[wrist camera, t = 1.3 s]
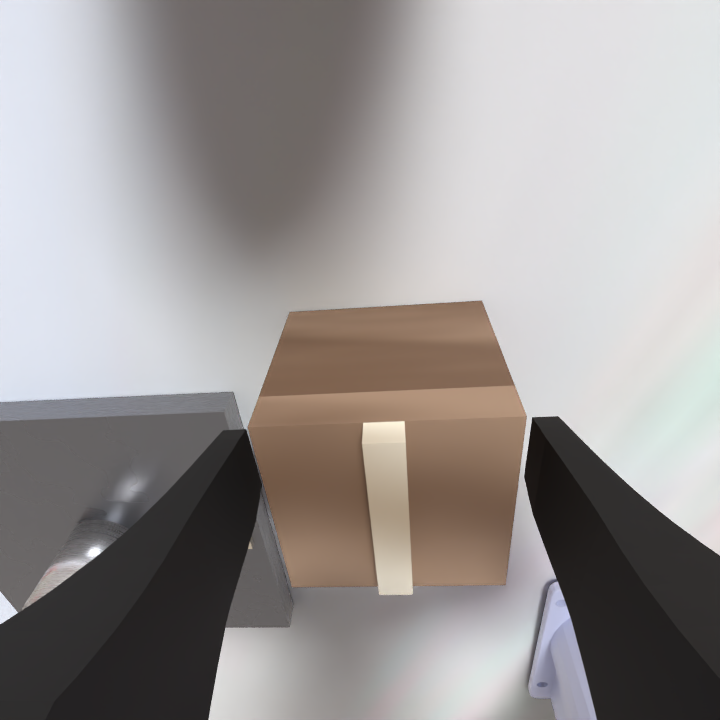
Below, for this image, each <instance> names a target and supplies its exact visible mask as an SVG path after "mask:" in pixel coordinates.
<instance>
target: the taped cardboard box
mask: <svg viewBox="0 0 720 720" xmlns="http://www.w3.org/2000/svg"><path fill="white" fill-rule="evenodd" d="M526 418H527V416H526V413H525V411H524V408H523V406H522V403H521V400H520V398H519V395H518V393H517V390H516V388H515V385H514V382H513V380H512V377H511V375H510V372H509V369H508V367H507V364H506V362H505V359H504V357H503V354H502V351H501V349H500V346H499V344H498V341H497V339H496V336H495V333H494V331H493V328H492V326H491V323H490V321H489V318H488V315H487V313H486V310H485V308H484V305H483V302H482V301H470V302H453V303H436V304H419V305H402V306H386V307H369V308H352V309H335V310H318V311H301V312H290V313H289V315H288V318H287V321H286V324H285V326H284V329H283V332H282V335H281V337H280V340H279V343H278V345H277V348H276V351H275V354H274V356H273V359H272V362H271V365H270V367H269V370H268V373H267V376H266V378H265V381H264V384H263V387H262V389H261V392H260V395H259V398H258V400H257V403H256V406H255V409H254V411H253V414H252V417H251V420H250V422H249V425H248V430H249V434H250V438H251V441H252V445H253V448H254V452H255V456H256V459H257V463H258V466H259V470H260V474H261V477H262V481H263V484H264V488H265V492H266V495H267V499H268V503H269V506H270V510H271V513H272V517H273V521H274V524H275V528H276V531H277V535H278V539H279V542H280V546H281V549H282V553H283V557H284V560H285V564H286V568H287V571H288V575H289V578H290V582H291V586H292V587H368V586H378V590H379V595H413V586H463V585H505V584H506V576H507V568H508V560H509V552H510V544H511V536H512V528H513V521H514V513H515V505H516V497H517V489H518V481H519V473H520V465H521V457H522V450H523V442H524V434H525V426H526Z"/></svg>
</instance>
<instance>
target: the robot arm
mask: <svg viewBox="0 0 720 720" xmlns="http://www.w3.org/2000/svg"><path fill="white" fill-rule="evenodd" d="M524 478H525V482H526V487H527V491H528V496H529V500H530V504H531V508H532V512H533V516H534V518H535V521H536V524H537V527H538V530H539V532H540V535H541V538H542V541H543V543H544V546H545V549H546V551H547V554H548V557H549V559H550V562H551V565H552V567H553V570H554V573H555V575H556V578H557V582H554V583H553V584H551V585H550V587H549V589H548V593H547V598H546V603H545V608H544V613H543V617H542V622H541V627H540V632H539V636H538V641H537V646H536V651H535V655H534V660H533V665H532V670H531V675H530V679H529V684H528V689H529V693H530V695H531V696H532V697H533V698H539V699H551V702H552V706H553V710H554V714H555V718H556V720H720V556H719V555H718V554H717V553H715V552H714V551H712V550H711V549H709V548H708V547H706V546H705V545H703V544H702V543H701V542H699V541H698V540H697V539H695V538H694V537H693V536H691V535H690V534H689V533H687V532H686V531H684V530H683V529H682V528H680V527H679V526H678V525H676V524H675V523H674V522H672V521H671V520H670V519H669V518H667V517H666V516H665V515H663V514H662V513H661V512H660V511H658V510H657V509H656V508H655V507H654V506H652V505H651V504H650V503H649V502H648V501H646V500H645V499H644V498H643V497H642V496H641V495H639V494H638V493H637V492H636V491H635V490H634V489H633V488H631V487H630V486H629V485H628V484H627V483H626V482H625V481H624V480H623V479H622V478H620V477H619V476H618V475H617V474H616V473H615V472H614V471H613V470H612V469H611V468H610V467H609V466H608V465H606V464H605V463H604V462H603V461H602V460H601V459H600V458H599V457H598V456H597V455H596V454H595V453H594V452H593V451H592V450H591V449H590V448H589V447H588V446H587V445H586V444H585V443H584V442H583V441H582V440H581V439H580V438H579V437H578V436H577V435H576V434H575V433H574V432H573V431H572V430H571V429H570V428H569V427H568V426H567V425H566V424H565V423H564V422H563V421H562V420H561V419H560V418H559V417H558V416H556V417H532V424H531V431H530V439H529V446H528V453H527V460H526V468H525V475H524ZM261 487H262V484H261V480H260V477H259V473H258V470H257V466H256V463H255V459H254V455H253V452H252V448H251V445H250V441H249V438H248V434H247V431H246V429H239V430H223V431H222V432H221V433H220V434H219V435H218V436H217V437H216V439H215V440H214V441H213V442H212V443H211V444H210V445H209V446H208V447H207V448H206V450H205V451H204V452H203V453H202V454H201V455H200V456H199V457H198V459H197V460H196V461H195V462H194V463H193V464H192V465H191V466H190V467H189V469H188V470H187V471H186V472H185V473H184V474H183V475H182V476H181V477H180V478H179V479H178V480H177V482H176V483H175V484H174V485H173V486H172V487H171V488H170V489H169V490H168V491H167V492H166V493H165V494H164V495H163V496H162V497H161V498H160V499H159V500H158V501H157V502H156V503H155V504H154V505H153V506H152V507H151V508H150V509H149V510H148V511H147V512H146V513H145V514H144V515H143V516H142V517H141V518H140V519H139V520H138V521H137V522H136V523H135V524H134V525H133V526H131V527H130V528H129V529H128V530H127V531H126V532H125V533H124V534H122V535H121V536H120V537H119V538H118V539H117V540H115V541H114V542H113V543H112V544H111V545H110V546H108V547H107V548H106V549H105V550H104V551H102V552H101V553H100V554H99V555H98V556H96V557H95V558H94V559H93V560H91V561H90V562H89V563H87V564H86V565H85V566H83V567H82V568H81V569H79V570H78V571H77V572H75V573H74V574H73V575H71V576H70V577H69V578H67V579H66V580H65V581H63V582H62V583H61V584H59V585H58V586H57V587H55V588H54V589H53V590H51V591H50V592H48V593H47V594H46V595H44V596H43V597H41V598H40V599H38V600H37V601H35V602H34V603H32V604H31V605H30V606H28V607H27V608H25V609H23V610H22V611H20V612H19V613H17V614H16V615H14V616H13V617H11V618H10V619H8V620H7V621H5V622H4V623H2V624H0V720H208V718H209V712H210V706H211V700H212V695H213V689H214V684H215V678H216V672H217V667H218V662H219V657H220V652H221V647H222V642H223V637H224V631H225V626H226V622H227V618H228V614H229V610H230V607H231V603H232V600H233V596H234V593H235V590H236V586H237V583H238V580H239V577H240V573H241V570H242V567H243V563H244V560H245V557H246V553H247V550H248V547H249V543H250V540H251V537H252V533H253V530H254V526H255V523H256V518H257V512H258V506H259V500H260V494H261Z"/></svg>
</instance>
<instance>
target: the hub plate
mask: <svg viewBox="0 0 720 720" xmlns="http://www.w3.org/2000/svg"><path fill="white" fill-rule="evenodd" d="M239 429H243V426H242V422H241V419H240V415H239V412H238V408H237V405H236V401H235V398H234V394H233V392H220V393H198V394H176V395H154V396H132V397H110V398H88V399H66V400H44V401H22V402H0V591H1V593H2V594H3V595H4V596H5V597H6V599H7V600H8V601H9V602H10V603H11V605H12V606H13V607H14V608H15V609H16V611H17V612H18V613H19V612H20V611H22V610H23V609H25V608H27V607H28V606H30V605H31V604H32V603H34V602H35V601H37V600H38V599H40V598H41V597H43V596H44V595H46V594H47V593H48V592H50V591H51V590H53V589H54V588H55V587H57V586H58V585H59V584H61V583H62V582H63V581H65V580H66V579H67V578H69V577H70V576H71V575H73V574H74V573H75V572H77V571H78V570H79V569H81V568H82V567H83V566H85V565H86V564H87V563H89V562H90V561H91V560H93V559H94V558H95V557H96V556H98V555H99V554H100V553H101V552H102V551H104V550H105V549H106V548H107V547H108V546H110V545H111V544H112V543H113V542H114V541H115V540H117V539H118V538H119V537H120V536H121V535H122V534H124V533H125V532H126V531H127V530H128V529H129V528H130V527H131V526H133V525H134V524H135V523H136V522H137V521H138V520H139V519H140V518H141V517H142V516H143V515H144V514H145V513H146V512H147V511H148V510H149V509H150V508H151V507H152V506H153V505H154V504H155V503H156V502H157V501H158V500H159V499H160V498H161V497H162V496H163V495H164V494H165V493H166V492H167V491H168V490H169V489H170V488H171V487H172V486H173V485H174V484H175V483H176V482H177V480H178V479H179V478H180V477H181V476H182V475H183V474H184V473H185V472H186V471H187V470H188V469H189V467H190V466H191V465H192V464H193V463H194V462H195V461H196V460H197V459H198V457H199V456H200V455H201V454H202V453H203V452H204V451H205V450H206V448H207V447H208V446H209V445H210V444H211V443H212V442H213V441H214V440H215V439H216V437H217V436H218V435H219V434H220V433H221V432H222V431H223V430H239ZM292 610H293V602H292V599H291V595H290V592H289V588H288V584H287V581H286V577H285V574H284V570H283V567H282V563H281V560H280V556H279V553H278V549H277V546H276V542H275V539H274V535H273V532H272V528H271V525H270V521H269V518H268V514H267V511H266V507H265V503H264V500H263V496H262V493H261V494H260V500H259V506H258V512H257V518H256V523H255V526H254V530H253V533H252V537H251V540H250V543H249V547H248V550H247V553H246V557H245V560H244V563H243V567H242V570H241V573H240V577H239V580H238V583H237V586H236V590H235V593H234V596H233V600H232V603H231V607H230V610H229V614H228V618H227V622H226V626H225V627H290V622H291V616H292Z"/></svg>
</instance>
